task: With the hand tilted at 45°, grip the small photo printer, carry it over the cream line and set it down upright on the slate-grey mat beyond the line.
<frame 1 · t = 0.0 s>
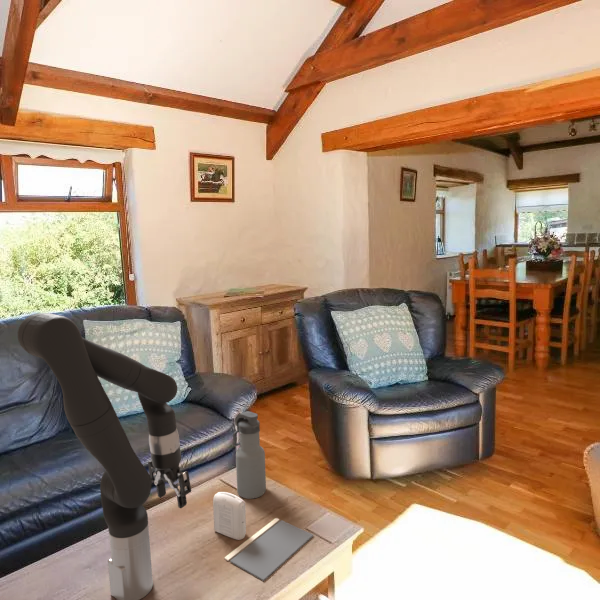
hand: (172, 501, 128), 17 cm above the table, tool pointing down, fingers open, 8 cm apart
water bottle: (251, 492, 164), on the table
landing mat: (270, 547, 135), on the table
photo printer: (230, 533, 142), on the table
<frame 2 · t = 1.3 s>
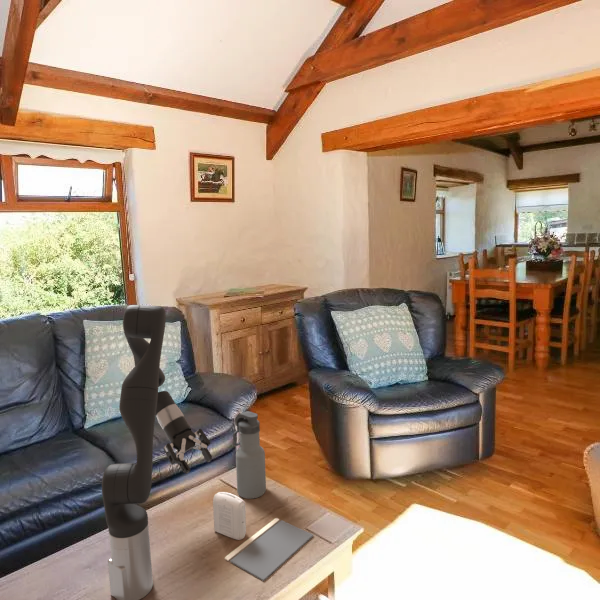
hand: (199, 466, 147), 17 cm above the table, tool tilted 45°, fingers open, 8 cm apart
nothing on the table moved.
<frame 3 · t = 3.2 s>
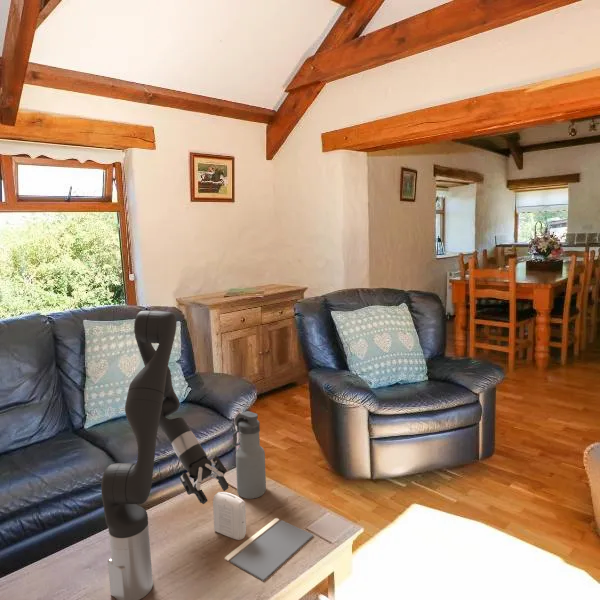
hand: (216, 495, 143), 10 cm above the table, tool tilted 45°, fingers open, 8 cm apart
nothing on the table moved.
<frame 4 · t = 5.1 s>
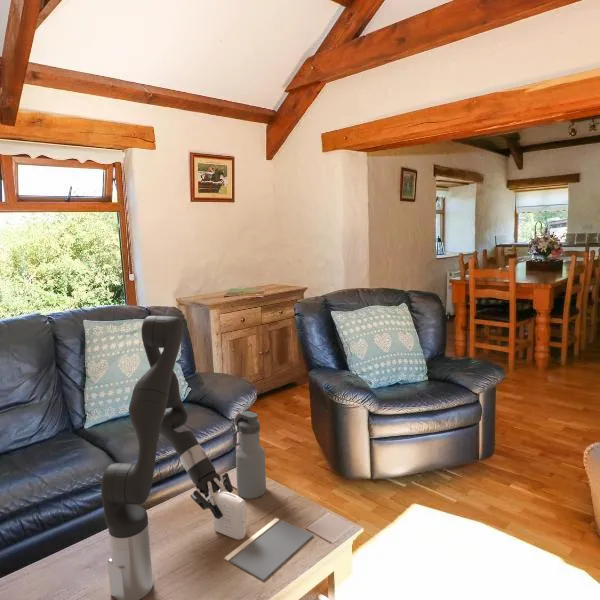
hand: (226, 513, 142), 6 cm above the table, tool tilted 45°, fingers closed on photo printer, 4 cm apart
photo printer: (230, 533, 142), on the table, touching gripper
everything else where it was.
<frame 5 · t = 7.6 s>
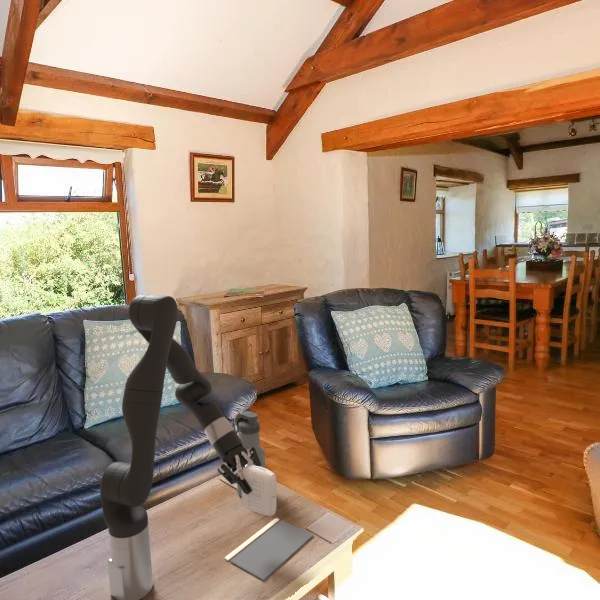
hand: (255, 488, 133), 18 cm above the table, tool tilted 45°, fingers closed on photo printer, 4 cm apart
photo printer: (259, 509, 133), point 12 cm above the table, touching gripper
everything else where it was.
when the fingers open (8 cm above the table, at t = 10.6 s): photo printer drops 1 cm, resting on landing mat.
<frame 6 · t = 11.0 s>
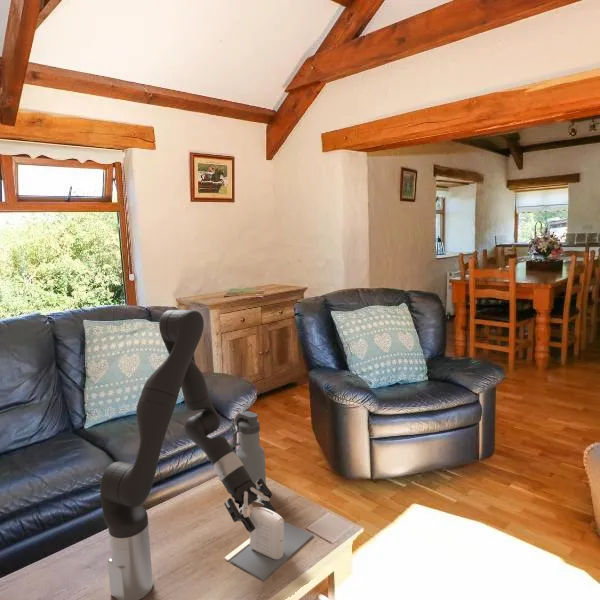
hand: (263, 522, 133), 8 cm above the table, tool tilted 45°, fingers open, 8 cm apart
photo printer: (267, 551, 133), resting on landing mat
everything else where it was.
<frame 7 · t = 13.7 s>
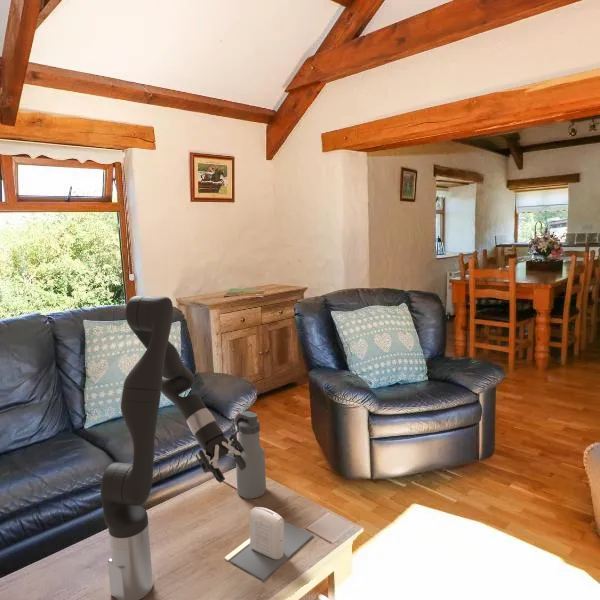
hand: (233, 474, 137), 19 cm above the table, tool tilted 45°, fingers open, 8 cm apart
nothing on the table moved.
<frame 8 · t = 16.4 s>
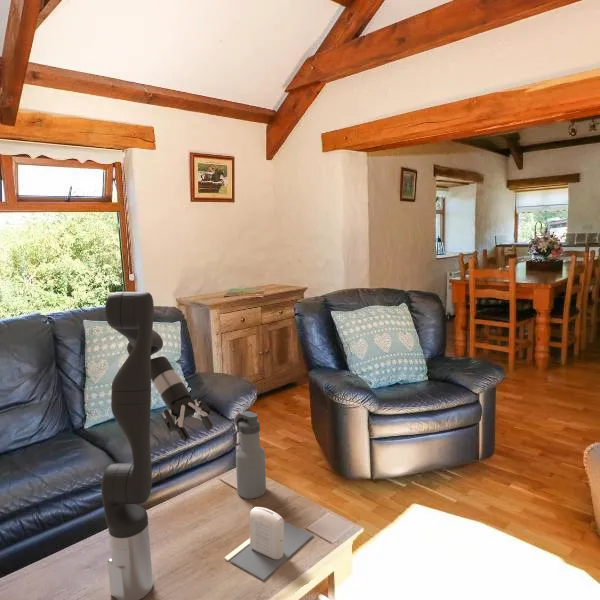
hand: (199, 434, 138), 31 cm above the table, tool tilted 45°, fingers open, 8 cm apart
nothing on the table moved.
at the end: photo printer inside the target area (0.6 cm from its centre), resting on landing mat; photo printer tilted 0°; the gripper is holding nothing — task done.
